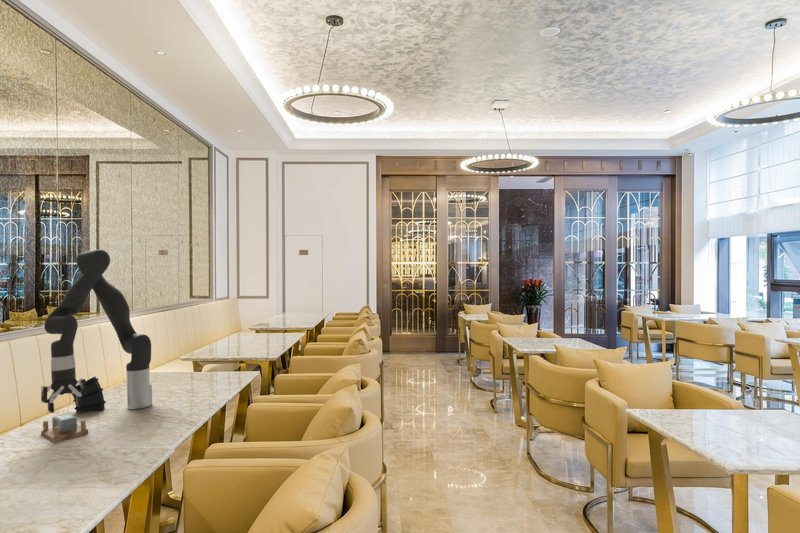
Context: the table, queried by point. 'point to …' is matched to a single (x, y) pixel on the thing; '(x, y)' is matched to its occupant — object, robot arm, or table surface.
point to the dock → (56, 436)
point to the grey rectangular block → (65, 423)
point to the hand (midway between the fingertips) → (65, 409)
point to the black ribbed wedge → (90, 397)
